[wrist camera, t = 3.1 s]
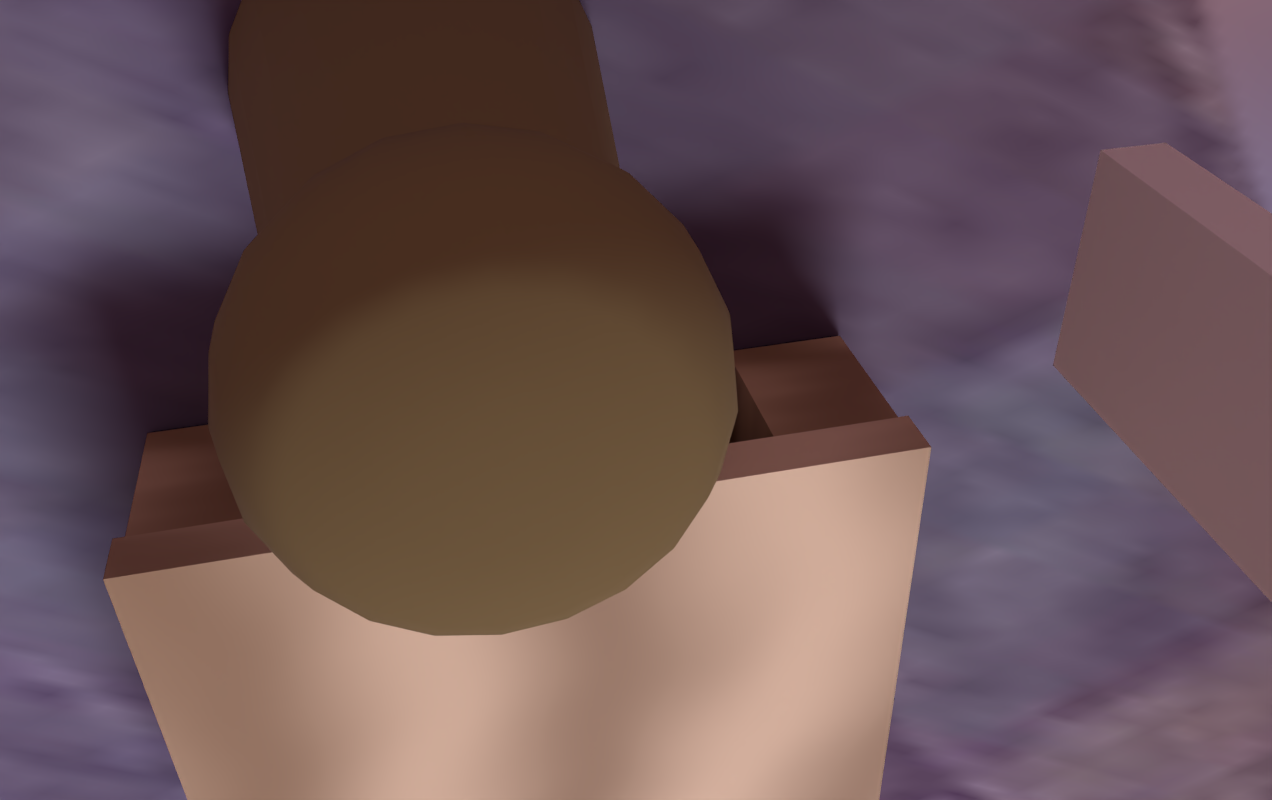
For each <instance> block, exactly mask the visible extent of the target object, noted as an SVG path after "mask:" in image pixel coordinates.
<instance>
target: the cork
mask: <svg viewBox="0 0 1272 800" xmlns="http://www.w3.org/2000/svg"><path fill="white" fill-rule="evenodd" d="M228 95H229V100H230V104H231V109H232V114H233V119H234V123H235V128H236V133H237V138H238V143H239V147H240V152H241V157H242V162H243V166H244V171H245V176H246V181H247V186H248V190H249V195H250V200H251V205H252V209H253V214H254V219H255V224H256V228H257V233H258V235H257V236H256V237H255V238H254V239H253V241H252V242H251V243H250V244H249V245H248V246H247V247H246V248H245V250H244V251H243V254H242V256H241V258H240V261H239V263H238V266H237V268H236V271H235V273H234V275H233V278H232V280H231V283H230V285H229V287H228V290H227V292H226V295H225V297H224V300H223V302H222V304H221V307H220V309H219V312H218V314H217V316H216V319H215V321H214V327H213V332H212V337H211V342H210V348H209V355H208V428H209V431H210V434H211V437H212V440H213V443H214V447H215V450H216V453H217V456H218V459H219V462H220V464H221V467H222V469H223V471H224V474H225V476H226V479H227V481H228V484H229V486H230V488H231V491H232V493H233V496H234V498H235V501H236V503H237V506H238V508H239V510H240V513H241V515H242V518H243V520H244V523H245V524H246V525H247V526H248V527H249V528H250V529H251V530H252V531H253V532H254V533H255V534H256V535H257V537H258V538H259V539H260V540H261V541H262V542H263V543H264V544H265V545H266V546H267V547H268V548H269V549H270V550H271V551H272V552H273V554H274V555H275V556H276V557H277V558H278V559H279V560H280V561H281V562H282V563H283V564H284V565H285V566H286V567H287V568H288V569H289V571H290V572H291V573H292V574H294V575H295V576H296V577H297V578H299V579H300V580H301V581H302V582H304V583H305V584H306V585H307V586H309V587H310V588H311V589H312V590H314V591H315V592H317V593H319V594H321V595H323V596H325V597H326V598H328V599H330V600H332V601H334V602H336V603H338V604H339V605H341V606H343V607H345V608H347V609H349V610H350V611H352V612H354V613H356V614H358V615H360V616H361V617H363V618H365V619H367V620H369V621H372V622H376V623H381V624H385V625H389V626H394V627H398V628H402V629H407V630H411V631H415V632H420V633H424V634H428V635H433V636H457V635H503V634H507V633H511V632H515V631H520V630H524V629H528V628H532V627H536V626H540V625H544V624H548V623H552V622H556V621H561V620H565V619H568V618H570V617H572V616H574V615H576V614H578V613H580V612H582V611H584V610H586V609H588V608H590V607H592V606H594V605H596V604H598V603H600V602H602V601H604V600H606V599H608V598H610V597H612V596H614V595H616V594H618V593H620V592H622V591H624V590H626V589H627V588H628V587H629V586H630V585H632V584H633V583H634V582H635V581H636V580H637V579H639V578H640V577H641V576H642V575H643V574H644V573H646V572H647V571H648V570H649V569H650V568H652V567H653V566H654V565H655V564H656V563H657V562H659V561H660V560H661V559H662V558H663V557H664V556H666V555H667V554H668V553H669V552H670V551H671V550H673V549H674V548H675V546H676V545H677V543H678V542H679V540H680V539H681V537H682V536H683V534H684V533H685V531H686V530H687V529H688V527H689V526H690V524H691V523H692V521H693V520H694V518H695V517H696V515H697V514H698V512H699V511H700V509H701V508H702V506H703V505H704V503H705V502H706V500H707V499H708V497H709V495H710V493H711V491H712V489H713V487H714V485H715V483H716V481H717V479H718V477H719V475H720V473H721V469H722V466H723V462H724V459H725V455H726V452H727V448H728V445H729V441H730V438H731V434H732V431H733V427H734V424H735V420H736V417H737V413H738V402H737V389H736V376H735V363H734V350H733V339H732V329H731V319H730V313H729V311H728V309H727V307H726V305H725V302H724V300H723V298H722V296H721V294H720V292H719V290H718V288H717V286H716V284H715V282H714V280H713V278H712V275H711V273H710V271H709V269H708V267H707V265H706V263H705V261H704V259H703V257H702V255H701V253H700V251H699V249H698V247H697V246H696V244H695V243H694V241H693V239H692V238H691V236H690V235H689V233H688V232H687V230H686V228H685V227H684V225H683V224H682V223H681V222H680V221H679V220H678V219H677V218H676V217H675V216H673V215H672V214H671V213H670V212H669V211H668V210H667V209H666V208H665V207H664V206H663V205H662V204H661V203H660V202H659V201H658V200H657V199H656V198H655V197H654V196H652V195H651V194H650V193H649V192H648V191H647V190H646V189H645V188H644V187H643V186H642V185H641V184H640V183H639V182H638V181H637V180H636V179H635V178H634V177H632V176H631V175H630V174H629V173H628V172H626V171H624V170H622V169H620V168H619V163H618V157H617V152H616V147H615V142H614V137H613V132H612V127H611V122H610V117H609V112H608V107H607V102H606V97H605V92H604V87H603V82H602V77H601V72H600V67H599V61H598V56H597V51H596V46H595V41H594V36H593V31H592V26H591V24H590V22H589V20H588V18H587V16H586V14H585V12H584V10H583V7H582V5H581V3H580V1H579V0H242V1H241V3H240V6H239V9H238V11H237V14H236V17H235V19H234V22H233V25H232V27H231V30H230V33H229V66H228Z"/></svg>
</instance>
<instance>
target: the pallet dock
mask: <svg viewBox="0 0 1272 800" xmlns="http://www.w3.org/2000/svg"><path fill="white" fill-rule="evenodd" d="M734 363H735V376H736V389H737V402H738V413H737V417H736V420H735V424H734V427H733V431H732V434H731V438H730V441H729V445H728V448H727V452H726V455H725V459H724V462H723V466H722V469H721V473H720V475H719V477H718V479H717V481H716V483H715V485H714V487H713V489H712V491H711V493H710V495H709V497H708V499H707V500H706V502H705V503H704V505H703V506H702V508H701V509H700V511H699V512H698V514H697V515H696V517H695V518H694V520H693V521H692V523H691V524H690V526H689V527H688V529H687V530H686V531H685V533H684V534H683V536H682V537H681V539H680V540H679V542H678V543H677V545H676V546H675V548H674V549H673V550H671V551H670V552H669V553H668V554H667V555H666V556H664V557H663V558H662V559H661V560H660V561H659V562H657V563H656V564H655V565H654V566H653V567H652V568H650V569H649V570H648V571H647V572H646V573H644V574H643V575H642V576H641V577H640V578H639V579H637V580H636V581H635V582H634V583H633V584H632V585H630V586H629V587H628V588H627V589H626V590H624V591H622V592H620V593H618V594H616V595H614V596H612V597H610V598H608V599H606V600H604V601H602V602H600V603H598V604H596V605H594V606H592V607H590V608H588V609H586V610H584V611H582V612H580V613H578V614H576V615H574V616H572V617H570V618H568V619H565V620H561V621H556V622H552V623H548V624H544V625H540V626H536V627H532V628H528V629H524V630H520V631H515V632H511V633H507V634H503V635H457V636H433V635H428V634H424V633H420V632H415V631H411V630H407V629H402V628H398V627H394V626H389V625H385V624H381V623H376V622H372V621H369V620H367V619H365V618H363V617H361V616H360V615H358V614H356V613H354V612H352V611H350V610H349V609H347V608H345V607H343V606H341V605H339V604H338V603H336V602H334V601H332V600H330V599H328V598H326V597H325V596H323V595H321V594H319V593H317V592H315V591H314V590H312V589H311V588H310V587H309V586H307V585H306V584H305V583H304V582H302V581H301V580H300V579H299V578H297V577H296V576H295V575H294V574H292V573H291V572H290V571H289V569H288V568H287V567H286V566H285V565H284V564H283V563H282V562H281V561H280V560H279V559H278V558H277V557H276V556H275V555H274V554H273V552H272V551H271V550H270V549H269V548H268V547H267V546H266V545H265V544H264V543H263V542H262V541H261V540H260V539H259V538H258V537H257V535H256V534H255V533H254V532H253V531H252V530H251V529H250V528H249V527H248V526H247V525H246V524H245V523H244V520H243V518H242V515H241V513H240V510H239V508H238V506H237V503H236V501H235V498H234V496H233V493H232V491H231V488H230V486H229V484H228V481H227V479H226V476H225V474H224V471H223V469H222V467H221V464H220V462H219V459H218V456H217V453H216V450H215V447H214V443H213V440H212V437H211V434H210V431H209V428H208V425H202V426H195V427H188V428H181V429H174V430H167V431H159V432H152V433H147V437H146V442H145V447H144V451H143V456H142V461H141V465H140V470H139V475H138V479H137V484H136V489H135V493H134V498H133V503H132V507H131V512H130V516H129V521H128V526H127V530H126V535H125V537H120V538H113V539H112V543H111V547H110V551H109V556H108V560H107V565H106V569H105V573H104V578H103V580H104V583H105V586H106V588H107V591H108V593H109V596H110V599H111V601H112V604H113V606H114V609H115V612H116V614H117V617H118V619H119V622H120V625H121V627H122V630H123V633H124V635H125V638H126V640H127V643H128V646H129V648H130V651H131V653H132V656H133V659H134V661H135V664H136V666H137V669H138V672H139V674H140V677H141V679H142V682H143V685H144V687H145V690H146V693H147V695H148V698H149V700H150V703H151V706H152V708H153V711H154V713H155V716H156V719H157V721H158V724H159V726H160V729H161V732H162V734H163V737H164V739H165V742H166V745H167V747H168V750H169V753H170V755H171V758H172V760H173V763H174V766H175V768H176V771H177V773H178V776H179V779H180V781H181V784H182V786H183V789H184V792H185V794H186V797H187V799H188V800H879V796H880V789H881V783H882V776H883V769H884V762H885V756H886V749H887V742H888V735H889V729H890V722H891V715H892V708H893V702H894V695H895V688H896V681H897V674H898V668H899V661H900V654H901V647H902V641H903V634H904V627H905V620H906V614H907V607H908V600H909V593H910V587H911V580H912V573H913V566H914V559H915V553H916V546H917V539H918V532H919V526H920V519H921V512H922V505H923V499H924V492H925V485H926V478H927V472H928V465H929V458H930V451H931V446H930V445H929V443H928V442H927V441H926V439H925V438H924V437H923V435H922V434H921V433H920V431H919V430H918V428H917V427H916V426H915V424H914V423H913V422H912V420H911V419H910V417H909V416H903V417H898V416H897V415H896V414H895V412H894V411H893V409H892V408H891V407H890V405H889V404H888V403H887V401H886V400H885V398H884V397H883V396H882V394H881V393H880V391H879V390H878V389H877V387H876V386H875V384H874V383H873V382H872V380H871V379H870V377H869V376H868V375H867V373H866V372H865V370H864V369H863V368H862V366H861V365H860V363H859V362H858V361H857V359H856V358H855V356H854V355H853V354H852V352H851V351H850V349H849V348H848V347H847V345H846V344H845V342H844V341H843V340H842V338H841V337H840V336H834V337H827V338H820V339H813V340H806V341H799V342H792V343H785V344H778V345H770V346H763V347H756V348H749V349H742V350H735V351H734Z"/></svg>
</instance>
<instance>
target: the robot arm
mask: <svg viewBox="0 0 1272 800" xmlns="http://www.w3.org/2000/svg"><path fill="white" fill-rule="evenodd" d="M1053 366H1054V367H1055V368H1056V369H1057V370H1058V371H1059V372H1060V373H1061V374H1062V375H1063V376H1064V378H1065V379H1066V380H1067V381H1068V382H1069V383H1070V384H1071V385H1072V386H1073V387H1074V388H1075V389H1076V391H1077V392H1078V393H1079V394H1080V395H1081V396H1082V397H1083V398H1084V399H1085V400H1086V401H1087V402H1088V404H1089V405H1090V406H1091V407H1092V408H1093V409H1094V410H1095V411H1096V412H1097V413H1098V414H1099V415H1100V417H1101V418H1102V419H1103V420H1104V421H1105V422H1106V423H1107V424H1108V425H1109V426H1110V427H1111V429H1112V430H1113V431H1114V432H1115V433H1116V434H1117V435H1118V436H1119V437H1120V438H1121V439H1122V440H1123V442H1124V443H1125V444H1126V445H1127V446H1128V447H1129V448H1130V449H1131V450H1132V451H1133V452H1134V453H1135V455H1136V456H1137V457H1138V458H1139V459H1140V460H1141V461H1142V462H1143V463H1144V464H1145V465H1146V466H1147V468H1148V469H1149V470H1150V471H1151V472H1152V473H1153V474H1154V475H1155V476H1156V477H1157V478H1158V480H1159V481H1160V482H1161V483H1162V484H1163V485H1164V486H1165V487H1166V488H1167V489H1168V490H1169V491H1170V493H1171V494H1172V495H1173V496H1174V497H1175V498H1176V499H1177V500H1178V501H1179V502H1180V503H1181V504H1182V506H1183V507H1184V508H1185V509H1186V510H1187V511H1188V512H1189V513H1190V514H1191V515H1192V516H1193V517H1194V519H1195V520H1196V521H1197V522H1198V523H1199V524H1200V525H1201V526H1202V527H1203V528H1204V529H1205V531H1206V532H1207V533H1208V534H1209V535H1210V536H1211V537H1212V538H1213V539H1214V540H1215V541H1216V542H1217V544H1218V545H1219V546H1220V547H1221V548H1222V549H1223V550H1224V551H1225V552H1226V553H1227V554H1228V555H1229V557H1230V558H1231V559H1232V560H1233V561H1234V562H1235V563H1236V564H1237V565H1238V566H1239V567H1240V568H1241V570H1242V571H1243V572H1244V573H1245V574H1246V575H1247V576H1248V577H1249V578H1250V579H1251V580H1252V582H1253V583H1254V584H1255V585H1256V586H1257V587H1258V588H1259V589H1260V590H1261V591H1262V592H1263V593H1264V595H1265V596H1266V597H1267V598H1268V599H1269V600H1270V601H1271V602H1272V214H1271V213H1270V212H1268V211H1267V210H1265V209H1264V208H1262V207H1261V206H1259V205H1258V204H1256V203H1255V202H1253V201H1252V200H1250V199H1249V198H1247V197H1246V196H1244V195H1243V194H1241V193H1240V192H1238V191H1237V190H1235V189H1234V188H1232V187H1231V186H1229V185H1228V184H1226V183H1225V182H1223V181H1222V180H1220V179H1219V178H1217V177H1216V176H1214V175H1213V174H1211V173H1210V172H1208V171H1207V170H1205V169H1204V168H1202V167H1201V166H1199V165H1198V164H1196V163H1195V162H1193V161H1192V160H1191V159H1189V158H1188V157H1186V156H1185V155H1183V154H1182V153H1180V152H1179V151H1177V150H1176V149H1174V148H1173V147H1171V146H1170V145H1168V144H1167V143H1160V144H1151V145H1142V146H1133V147H1124V148H1115V149H1106V150H1101V151H1100V155H1099V160H1098V164H1097V169H1096V173H1095V178H1094V182H1093V187H1092V192H1091V196H1090V201H1089V205H1088V210H1087V214H1086V219H1085V223H1084V228H1083V232H1082V237H1081V241H1080V246H1079V250H1078V255H1077V259H1076V264H1075V268H1074V273H1073V278H1072V282H1071V287H1070V291H1069V296H1068V300H1067V305H1066V309H1065V314H1064V318H1063V323H1062V327H1061V332H1060V336H1059V341H1058V345H1057V350H1056V354H1055V359H1054V363H1053Z"/></svg>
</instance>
